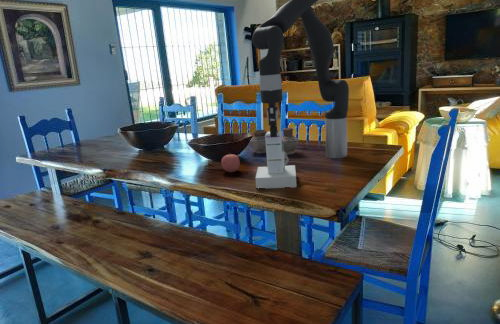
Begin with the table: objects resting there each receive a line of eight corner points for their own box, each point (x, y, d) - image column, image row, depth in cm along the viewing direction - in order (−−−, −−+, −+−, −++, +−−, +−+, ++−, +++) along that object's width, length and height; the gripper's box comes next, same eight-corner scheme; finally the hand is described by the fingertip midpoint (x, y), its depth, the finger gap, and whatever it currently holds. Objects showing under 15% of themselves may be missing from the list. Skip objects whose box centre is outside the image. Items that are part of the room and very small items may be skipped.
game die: (276, 176, 153) (266, 156, 156) (294, 168, 153) (284, 147, 156) (274, 172, 145) (263, 150, 147) (293, 163, 144) (282, 141, 147)
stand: (258, 176, 142) (258, 166, 141) (295, 175, 141) (294, 165, 140) (256, 188, 129) (255, 177, 128) (296, 187, 128) (295, 176, 127)
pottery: (295, 156, 169) (294, 130, 166) (246, 154, 180) (244, 130, 177) (302, 150, 179) (301, 126, 176) (255, 149, 190) (254, 126, 187)
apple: (233, 175, 147) (232, 155, 145) (219, 173, 151) (217, 154, 149) (243, 170, 153) (242, 151, 151) (229, 168, 157) (227, 150, 155)
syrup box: (283, 173, 131) (281, 133, 127) (267, 173, 132) (264, 134, 128) (285, 169, 136) (283, 130, 132) (269, 169, 137) (266, 131, 133)
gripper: (261, 87, 133) (264, 131, 138) (258, 90, 120) (262, 139, 124) (282, 86, 133) (284, 130, 137) (281, 89, 119) (284, 138, 123)
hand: (274, 134), depth 130 cm, fingers open, 8 cm apart
